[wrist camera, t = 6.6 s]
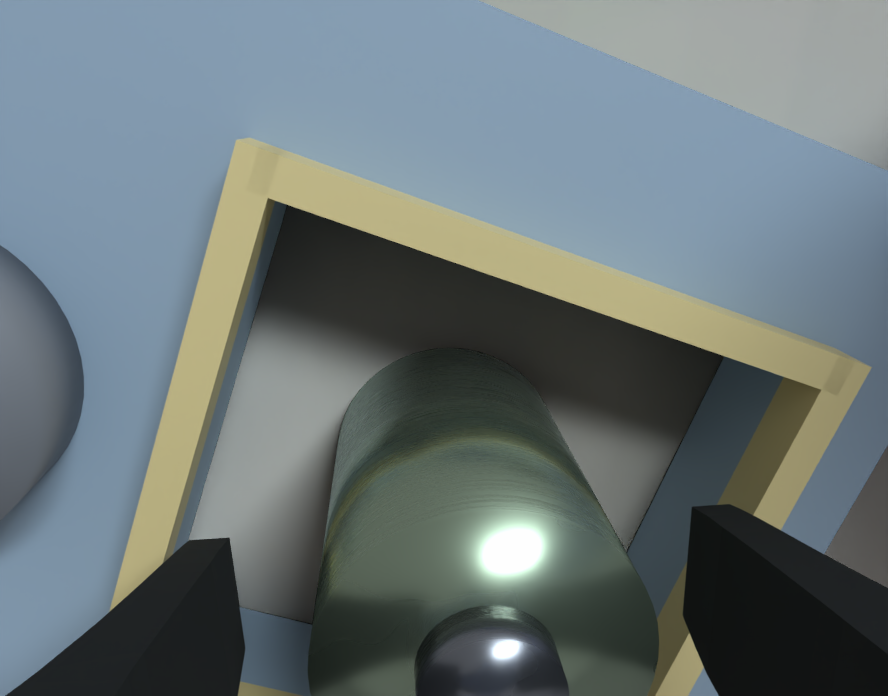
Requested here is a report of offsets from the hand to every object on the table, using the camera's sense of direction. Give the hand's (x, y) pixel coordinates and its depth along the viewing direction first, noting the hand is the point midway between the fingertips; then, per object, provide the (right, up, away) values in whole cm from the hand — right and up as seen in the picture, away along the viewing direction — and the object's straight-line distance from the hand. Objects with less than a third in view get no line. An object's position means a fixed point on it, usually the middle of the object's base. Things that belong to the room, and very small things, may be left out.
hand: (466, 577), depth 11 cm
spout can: (0, +2, +3) cm, 4 cm away
